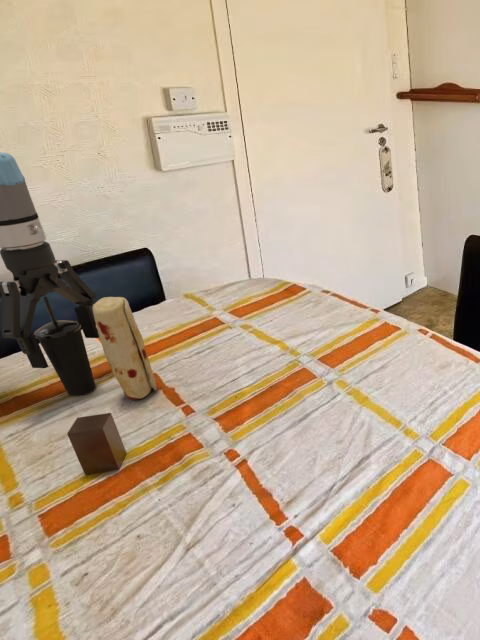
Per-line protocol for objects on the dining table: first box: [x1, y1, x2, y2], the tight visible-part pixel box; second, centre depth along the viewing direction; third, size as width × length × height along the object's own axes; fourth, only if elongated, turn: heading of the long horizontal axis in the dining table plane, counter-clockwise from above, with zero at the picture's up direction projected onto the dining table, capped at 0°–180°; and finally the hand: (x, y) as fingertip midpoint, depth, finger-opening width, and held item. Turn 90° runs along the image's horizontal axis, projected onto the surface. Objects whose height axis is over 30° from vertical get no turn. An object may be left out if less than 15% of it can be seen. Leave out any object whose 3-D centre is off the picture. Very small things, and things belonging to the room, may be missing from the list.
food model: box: [91, 296, 158, 401], centre depth 120 cm, size 10×7×20 cm
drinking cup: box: [33, 296, 97, 397], centre depth 121 cm, size 8×8×20 cm
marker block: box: [66, 412, 127, 476], centre depth 101 cm, size 5×5×8 cm
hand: (68, 351), depth 122 cm, fingers open, 13 cm apart
